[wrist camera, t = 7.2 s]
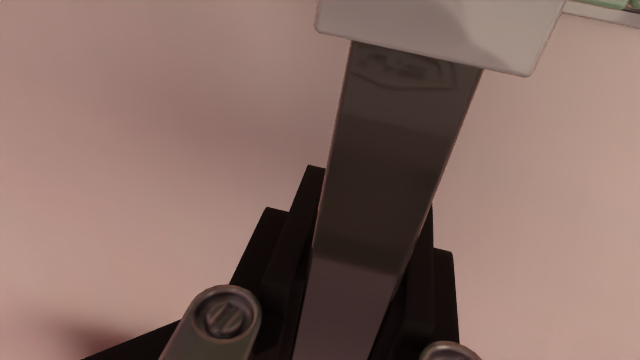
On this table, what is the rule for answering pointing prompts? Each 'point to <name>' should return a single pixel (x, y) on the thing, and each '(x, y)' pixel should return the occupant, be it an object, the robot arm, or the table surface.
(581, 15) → the hob
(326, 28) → the saucepan
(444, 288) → the robot arm
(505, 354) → the table surface
